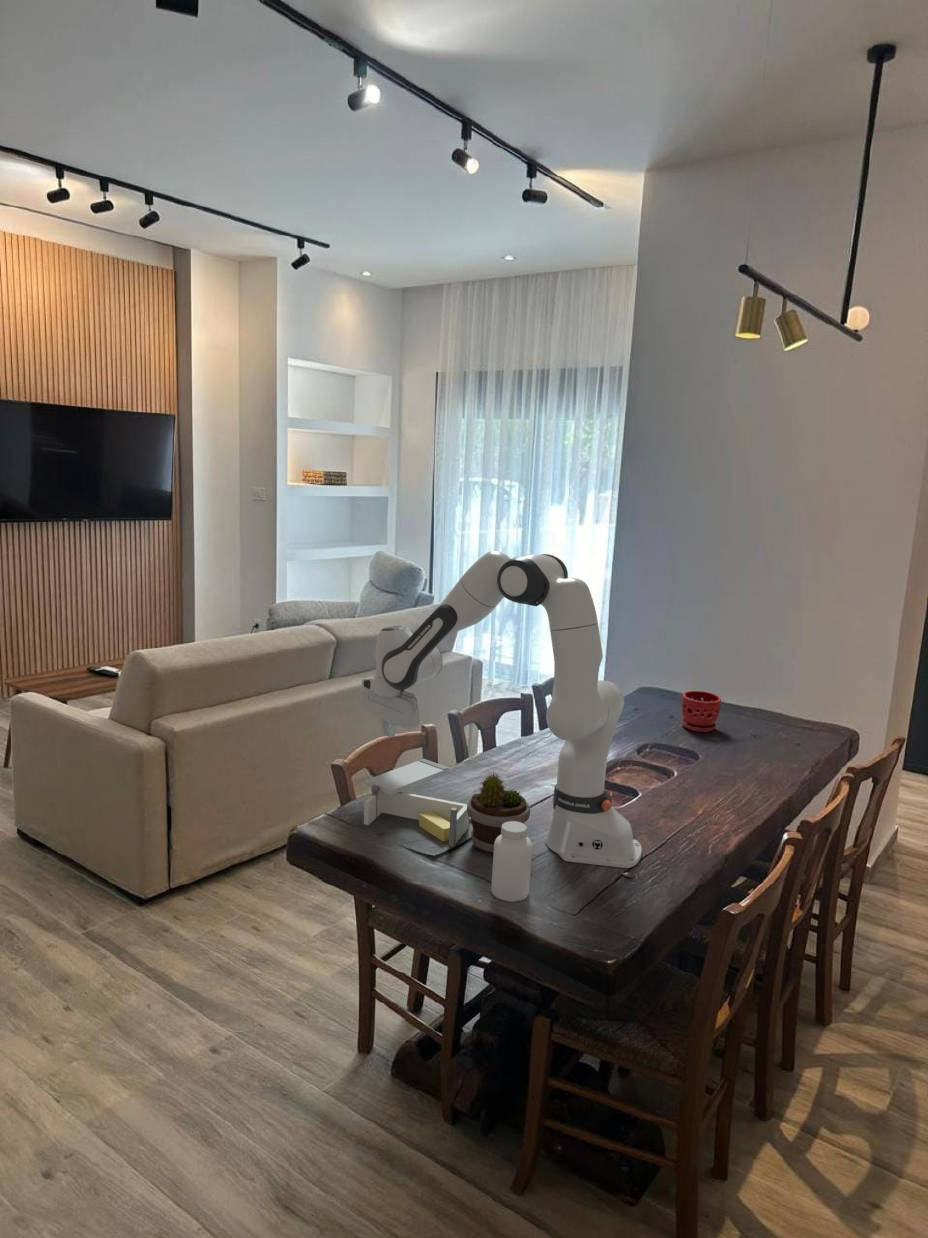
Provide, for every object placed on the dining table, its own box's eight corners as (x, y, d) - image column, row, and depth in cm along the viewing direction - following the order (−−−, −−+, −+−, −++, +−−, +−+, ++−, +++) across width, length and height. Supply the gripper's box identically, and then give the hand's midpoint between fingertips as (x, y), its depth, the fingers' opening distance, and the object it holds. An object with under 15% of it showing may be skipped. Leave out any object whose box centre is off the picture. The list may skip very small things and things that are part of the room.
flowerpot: (489, 826, 204) (493, 749, 200) (540, 847, 195) (546, 766, 191) (451, 846, 193) (455, 764, 189) (503, 868, 184) (509, 783, 180)
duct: (468, 828, 203) (470, 793, 201) (453, 846, 193) (455, 810, 191) (379, 810, 211) (380, 776, 209) (360, 827, 200) (361, 792, 199)
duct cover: (423, 763, 225) (423, 758, 225) (449, 772, 219) (449, 767, 219) (359, 786, 207) (359, 781, 207) (385, 797, 201) (385, 792, 201)
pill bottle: (497, 904, 169) (502, 836, 166) (486, 885, 176) (490, 819, 173) (534, 901, 171) (539, 833, 168) (521, 881, 178) (526, 816, 175)
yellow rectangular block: (454, 839, 197) (455, 825, 197) (443, 842, 195) (443, 829, 195) (430, 823, 205) (430, 810, 204) (418, 826, 203) (419, 813, 202)
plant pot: (672, 723, 295) (675, 691, 292) (704, 721, 299) (707, 689, 296) (692, 735, 282) (696, 701, 280) (725, 733, 286) (729, 700, 284)
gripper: (426, 693, 214) (423, 744, 216) (375, 675, 227) (373, 723, 230) (408, 697, 209) (405, 749, 212) (357, 678, 223) (355, 727, 226)
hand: (388, 735), depth 221 cm, fingers closed
